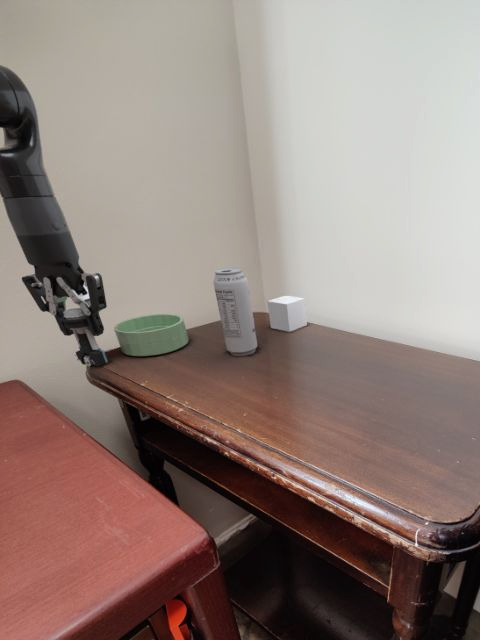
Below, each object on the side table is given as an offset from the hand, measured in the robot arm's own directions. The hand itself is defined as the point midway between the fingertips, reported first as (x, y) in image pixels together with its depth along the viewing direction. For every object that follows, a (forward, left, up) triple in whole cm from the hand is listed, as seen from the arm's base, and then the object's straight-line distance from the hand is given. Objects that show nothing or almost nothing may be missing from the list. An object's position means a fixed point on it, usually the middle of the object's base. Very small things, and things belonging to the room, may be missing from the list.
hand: (84, 334), depth 73 cm
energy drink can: (+27, +8, -6) cm, 29 cm away
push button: (-1, 0, -6) cm, 6 cm away
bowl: (+7, +10, -6) cm, 13 cm away
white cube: (+32, +25, -6) cm, 41 cm away
